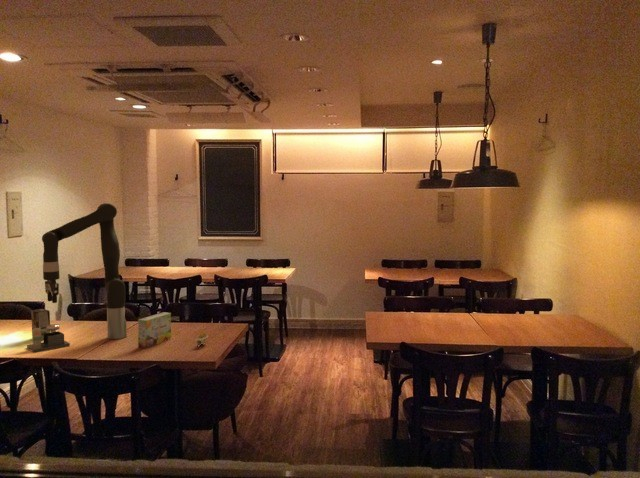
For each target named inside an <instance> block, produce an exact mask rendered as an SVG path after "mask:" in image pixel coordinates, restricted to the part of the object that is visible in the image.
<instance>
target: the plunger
mask: <svg viewBox="0 0 640 478" xmlns="http://www.w3.org/2000/svg"><path fill="white" fill-rule="evenodd" d="M46 330H48V331H50V333H52V334H53V333H56V332H57V331H59V330H60V324H58V323H53V324H51V323H50V325H47V329H40V330H35V332H40V331H46Z"/></svg>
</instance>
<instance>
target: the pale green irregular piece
mask: <svg viewBox="0 0 640 478" xmlns="http://www.w3.org/2000/svg"><path fill="white" fill-rule="evenodd" d="M207 338H209V335H208V334H207V332H202V333H200V334H199V335H198V337H196V338H195V339H194V340H195V341H196V342H197V346H198V345H200V344H201V343H206V344H207V342H206V341H207Z"/></svg>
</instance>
